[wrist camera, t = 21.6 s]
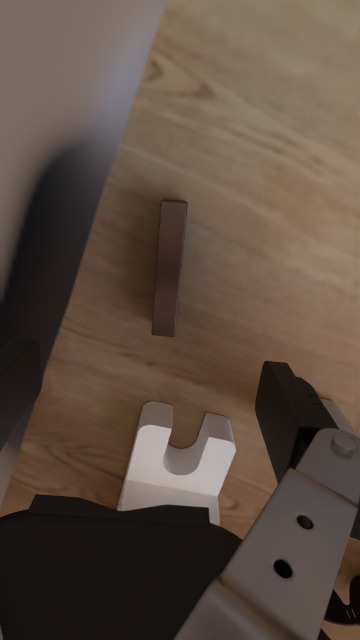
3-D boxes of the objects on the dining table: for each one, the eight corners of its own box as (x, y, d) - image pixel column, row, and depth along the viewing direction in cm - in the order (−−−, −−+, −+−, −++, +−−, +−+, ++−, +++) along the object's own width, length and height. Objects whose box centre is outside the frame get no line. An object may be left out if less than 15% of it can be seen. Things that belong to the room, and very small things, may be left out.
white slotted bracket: (114, 519, 41) (92, 626, 31) (144, 399, 35) (129, 485, 25) (189, 533, 42) (192, 641, 32) (233, 418, 36) (253, 508, 26)
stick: (162, 198, 28) (160, 200, 25) (187, 201, 28) (187, 202, 25) (154, 322, 32) (151, 335, 29) (175, 324, 32) (174, 337, 29)
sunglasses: (298, 586, 45) (311, 628, 41) (297, 513, 43) (312, 548, 38) (377, 582, 45) (400, 624, 40) (382, 508, 42) (408, 543, 37)
